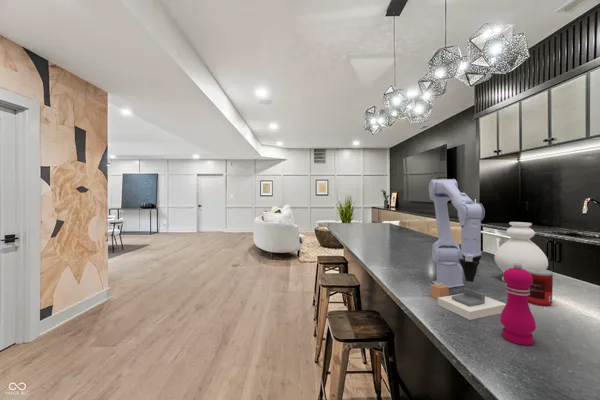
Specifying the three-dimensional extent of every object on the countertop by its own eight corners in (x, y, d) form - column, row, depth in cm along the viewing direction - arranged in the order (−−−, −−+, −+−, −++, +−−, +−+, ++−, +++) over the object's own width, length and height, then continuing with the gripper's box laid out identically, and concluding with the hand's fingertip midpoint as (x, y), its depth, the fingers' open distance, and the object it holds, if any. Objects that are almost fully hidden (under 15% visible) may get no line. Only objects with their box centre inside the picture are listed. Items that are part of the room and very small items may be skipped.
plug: (439, 295, 103) (439, 281, 103) (448, 299, 99) (448, 284, 99) (430, 296, 102) (430, 282, 102) (439, 300, 98) (439, 286, 98)
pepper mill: (493, 332, 75) (493, 259, 75) (518, 331, 76) (518, 258, 75) (516, 347, 68) (516, 266, 67) (543, 345, 69) (544, 265, 68)
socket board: (472, 298, 99) (472, 291, 99) (507, 312, 88) (507, 304, 88) (437, 305, 94) (437, 297, 94) (469, 320, 82) (469, 311, 82)
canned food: (545, 299, 98) (545, 268, 98) (557, 307, 90) (557, 274, 90) (519, 296, 101) (519, 266, 100) (529, 305, 93) (529, 272, 93)
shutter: (466, 295, 94) (466, 287, 94) (484, 302, 88) (484, 294, 88) (451, 298, 92) (451, 290, 92) (469, 305, 86) (469, 296, 86)
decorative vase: (527, 275, 125) (527, 220, 125) (560, 289, 108) (560, 225, 107) (485, 274, 127) (486, 220, 127) (511, 288, 109) (511, 225, 109)
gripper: (459, 235, 103) (459, 271, 103) (454, 240, 91) (454, 281, 91) (482, 236, 98) (482, 274, 99) (479, 242, 87) (479, 285, 87)
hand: (470, 278), depth 95 cm, fingers open, 7 cm apart
